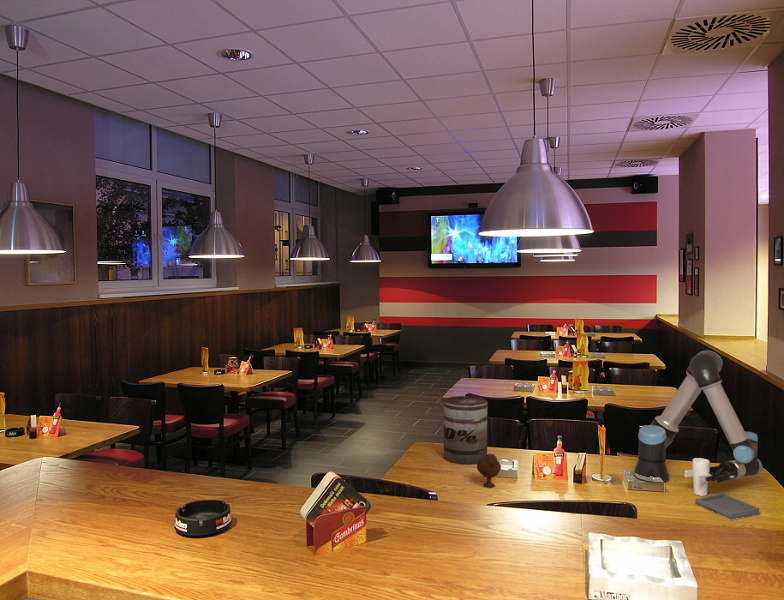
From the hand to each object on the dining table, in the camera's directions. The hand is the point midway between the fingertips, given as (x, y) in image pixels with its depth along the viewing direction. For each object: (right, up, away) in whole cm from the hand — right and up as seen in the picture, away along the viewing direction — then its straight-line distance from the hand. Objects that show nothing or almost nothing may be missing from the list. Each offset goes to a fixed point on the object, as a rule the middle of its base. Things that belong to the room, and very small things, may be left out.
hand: (692, 476), depth 259 cm
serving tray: (+7, -9, -14) cm, 18 cm away
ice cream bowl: (-85, -9, +14) cm, 87 cm away
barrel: (-91, -6, +55) cm, 106 cm away
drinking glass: (+5, -9, +2) cm, 10 cm away
